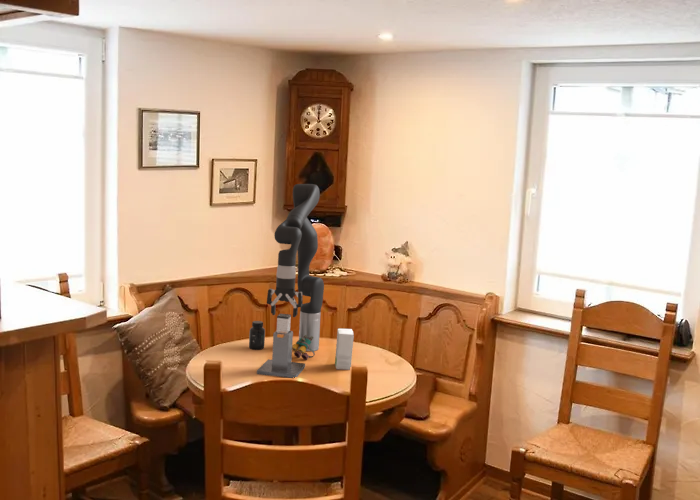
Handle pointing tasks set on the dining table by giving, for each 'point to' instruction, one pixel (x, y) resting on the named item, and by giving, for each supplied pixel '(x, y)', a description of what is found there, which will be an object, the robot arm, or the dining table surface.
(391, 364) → the dining table surface
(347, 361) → the skincare box
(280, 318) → the column
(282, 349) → the stand
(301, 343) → the binoculars
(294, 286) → the robot arm
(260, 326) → the supplement bottle
